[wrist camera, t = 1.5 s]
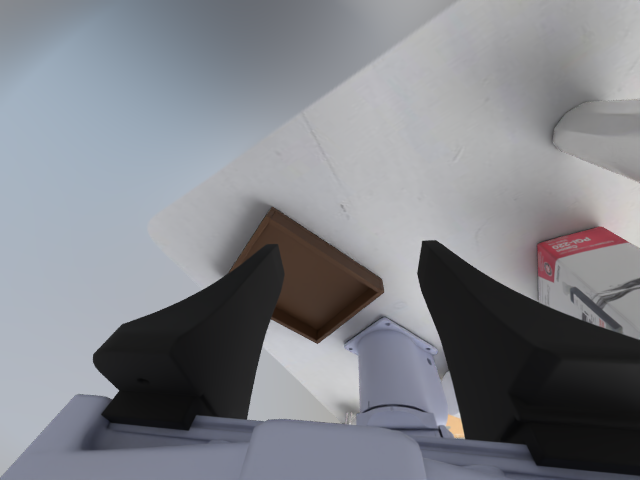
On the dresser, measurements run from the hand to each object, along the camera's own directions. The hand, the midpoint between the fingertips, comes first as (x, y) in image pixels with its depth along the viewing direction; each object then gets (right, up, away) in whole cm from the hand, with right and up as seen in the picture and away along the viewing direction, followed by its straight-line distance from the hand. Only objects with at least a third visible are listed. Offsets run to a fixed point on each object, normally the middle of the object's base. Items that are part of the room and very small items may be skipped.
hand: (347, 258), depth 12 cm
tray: (-4, -4, +15) cm, 16 cm away
